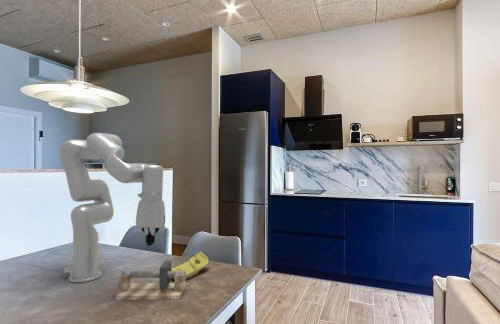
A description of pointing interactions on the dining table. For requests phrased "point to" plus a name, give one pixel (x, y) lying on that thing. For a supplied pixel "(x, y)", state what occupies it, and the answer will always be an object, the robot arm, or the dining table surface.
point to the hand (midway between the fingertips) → (150, 244)
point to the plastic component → (192, 265)
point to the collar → (164, 275)
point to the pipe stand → (149, 286)
